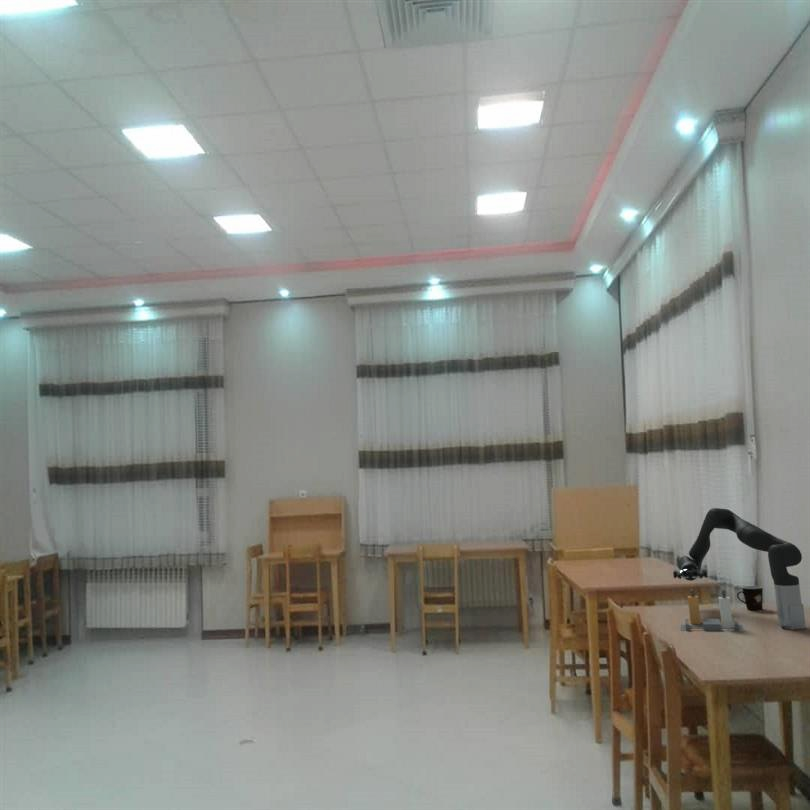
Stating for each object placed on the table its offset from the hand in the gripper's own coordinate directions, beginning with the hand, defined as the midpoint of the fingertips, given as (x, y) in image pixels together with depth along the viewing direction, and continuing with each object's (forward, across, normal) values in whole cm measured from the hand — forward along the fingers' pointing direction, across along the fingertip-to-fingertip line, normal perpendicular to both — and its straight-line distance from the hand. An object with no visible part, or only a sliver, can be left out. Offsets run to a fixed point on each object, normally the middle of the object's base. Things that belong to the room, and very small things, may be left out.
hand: (690, 576), depth 334 cm
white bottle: (+21, +12, +18) cm, 30 cm away
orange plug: (+12, 0, +19) cm, 22 cm away
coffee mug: (-23, +25, +19) cm, 39 cm away
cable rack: (+21, +6, +19) cm, 29 cm away
